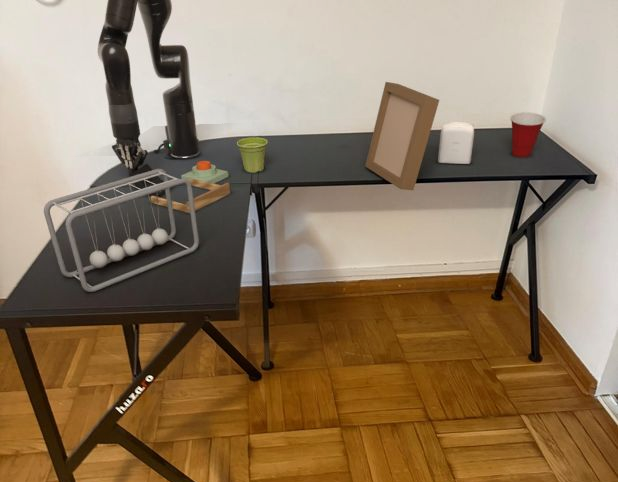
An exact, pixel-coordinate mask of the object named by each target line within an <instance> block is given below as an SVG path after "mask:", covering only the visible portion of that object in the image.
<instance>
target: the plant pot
mask: <svg viewBox="0 0 618 482" xmlns="http://www.w3.org/2000/svg"><path fill="white" fill-rule="evenodd" d="M268 143H269V142H268V140H267V139H266V138H262V137H255V136H254V137H244V138H241V139H238V140H237V141H236V145H237V147H238V150H239V152H240V157H241V161H242V164H243V170H244V171H245V172H247V173H252V174H256V173H258V172H263V171H264V169H265V159H266V158H265V156H266V148H267V144H268Z"/></svg>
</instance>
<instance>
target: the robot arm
mask: <svg viewBox="0 0 618 482" xmlns="http://www.w3.org/2000/svg"><path fill="white" fill-rule="evenodd" d="M137 7H138V8H137ZM137 9H138V11H139V14H140V17H141V20H142V24H143V27H144V30H145V34H146V39H147V43H148V44H147V45H148V48H149V54H150V59H151V64H152V68H153V70H154V71H153V72H154V73H155V75H156V77H157V78H158V79H164V80H166V79H171V80H172V79H179V82H178V83H177V84H176V85H175V86H173V87H171V88H168V89H166V90H164V91H163V92H162V102H163V108H164V114H165V122H166V125H165V126H164V129H165V135H166V139H164V140H162V143H161V144H160V145H159V146H158V148H157V150H156V149H154V150H153V151H154V153H159V152H160V151H161V148H162V147H163V148H164V149H167V150H168V155H169V156H171V158H173V159H177V160H187V159H188V160H189V159H194V158H196V157H198V156H200V147H199V144H200V141H199V138H198V133H197V124H196V123H197V122H196V116H195V115H196V114H195V107H194V101H193V93H192V85H191V72H190V60H189V58H190V57H189V52H188V50H187V47H186V46H185V45H183V44H170V45H169V44H168V45H167V44H166V45H162V44H161V38H162V35H163V33H164V30H165V28H166V27H167V25H168V23H169V21H170V18H171V16H172V11H173V4H172V0H107V3H106V8H105V14H104V22H103V25H102V28H101V32H100V35H99V39H98V43H97V57H98V59H99V61H100V62H101V63H102V65H103V71H104V76H105V81H106V82H105V93H106V99H107V105H108V114H109V119H110V125H111V131H112V137H113V138H115V144H113V145H111V149H112V151H113V152H114V154H115V156H116V157H117V158H118V161H120V163H121V164H122V165H125V167H126V168H127V172H128V173H127V174H128V177H129V176H130V175H131V174H132V173H134V172H135V171H137V170H138V169H139V167H142V166H143V165H144V162H145V160H146V158H147V156H148V154H149V153H148V150H147V149H143V148H142V146H141V145H142V144H141V142H140V139H139V138H140V136H141V129H140V123H139V117H138V110H137V107H136V103H135V97H134V92H133V86H132V76H131V61H130V55H129V53H128V50H127V49H126V46H127V43H128V37H129V34H130V33H131V32H132V29H133V27H134V24H135V23H134V22H135V17H136V12H137Z"/></svg>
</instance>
